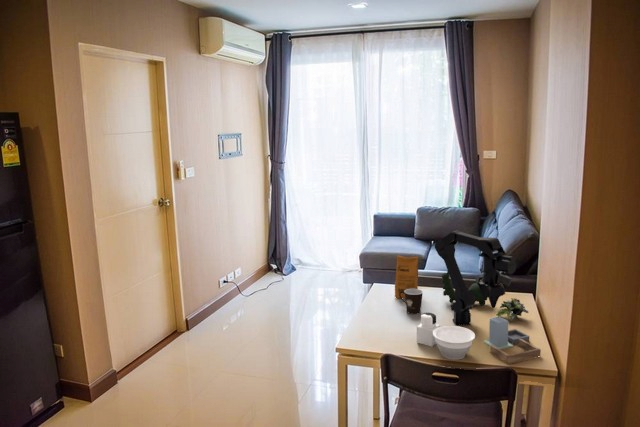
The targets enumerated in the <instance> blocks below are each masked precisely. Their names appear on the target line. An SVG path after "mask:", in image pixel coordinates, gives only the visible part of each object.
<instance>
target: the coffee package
mask: <svg viewBox="0 0 640 427" xmlns="http://www.w3.org/2000/svg"><path fill="white" fill-rule="evenodd" d="M418 266H419V257H418V256H409V257H406V256H402V255H397V258H396V271H395V281H394V297H396V298H400V296H399V293H400V292H401V291H403V292H404V291H405V290H407V289H419V288H418V283H419V281H418V280H419V267H418ZM400 295H401V297H402V298H403V300H405V294H404V293H401V294H400ZM396 298H395V299H396Z"/></svg>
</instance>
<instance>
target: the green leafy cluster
mask: <svg viewBox="0 0 640 427" xmlns="http://www.w3.org/2000/svg"><path fill="white" fill-rule="evenodd" d="M524 305H525V304H524V303H521V301H520V299H517V298H516V297H515V298H512V297H511V298H510V300H506V301H505V300H503V301H502V302H501V304H500V306H499V310H498V311H497V312H496V316H497V317H501V316H504V315H506V318H507V319H508V320H510V322H512V321H513V320H514V318H515V317H518V316H519V317H522V313H523V312H524V313H525V314H526V313H527V314H529V310H527V309H526V307H525V306H524ZM510 315H511V319H510Z"/></svg>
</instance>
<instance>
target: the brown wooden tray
mask: <svg viewBox="0 0 640 427" xmlns="http://www.w3.org/2000/svg"><path fill="white" fill-rule="evenodd" d="M518 347H520V348H521V349H523V350H525V351H522V352H521V351H520V352H516V353H512V354H508V353H507V352H505V351H503V349H501V350H500V349H498V348H497V347H495V346H493V345H490V346H489V353H490V354H491V355H493V356H495V357H496V358H498V359H499V360H501V361H502V362H505V363H506V364H507V365H510V364H514V363H515V364H516V363H519V362H524V361H528V359H529V360H532V358H533V359H536V358H535V357H537V358H539V357H538V356H540V357H541V351H542V350H541V348H539V347H537V346H535V345H533V344H532V343H529V341H527V342H526V341H524V340H522V339H519V343H518Z"/></svg>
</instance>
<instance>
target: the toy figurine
mask: <svg viewBox="0 0 640 427" xmlns="http://www.w3.org/2000/svg"><path fill="white" fill-rule="evenodd" d="M441 278H442V280H441V283H442V290H443V292H442V295H443V296H444V297H445V296H448V298H449V303H451V304H453V303H454V302H455V298H454V295H455V288H454V287H453V283H452V282H451V278H450V275H449V272H448V270H447V271H446V272H443V273H442V274H441ZM468 289H469V290H470V289H472V290H473V293H474V296H475V297H476V298H475V301H476V302H477V303H478V304H479V305H480V306H484V305H486V300H484V298H483V296H482V294H481V291H480V289H479V287H478V285H477V282H475V283H472V284H471V285H470V286H469V288H468ZM476 302H475V303H476Z"/></svg>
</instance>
